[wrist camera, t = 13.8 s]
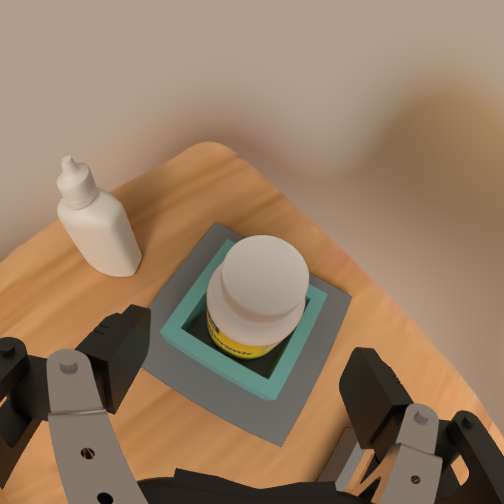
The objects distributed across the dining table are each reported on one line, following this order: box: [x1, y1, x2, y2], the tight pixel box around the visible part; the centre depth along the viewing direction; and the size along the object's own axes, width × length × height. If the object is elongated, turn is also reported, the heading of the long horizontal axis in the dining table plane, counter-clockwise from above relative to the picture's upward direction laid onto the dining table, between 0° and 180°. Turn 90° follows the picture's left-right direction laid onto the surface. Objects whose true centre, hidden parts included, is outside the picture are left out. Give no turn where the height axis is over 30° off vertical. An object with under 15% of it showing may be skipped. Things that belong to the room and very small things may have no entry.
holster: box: [316, 427, 366, 492], centre depth 14 cm, size 9×9×3 cm
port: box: [141, 222, 352, 447], centre depth 20 cm, size 14×14×4 cm
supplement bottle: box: [206, 235, 309, 361], centre depth 17 cm, size 5×5×10 cm
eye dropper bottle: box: [57, 155, 142, 277], centre depth 18 cm, size 4×6×12 cm
